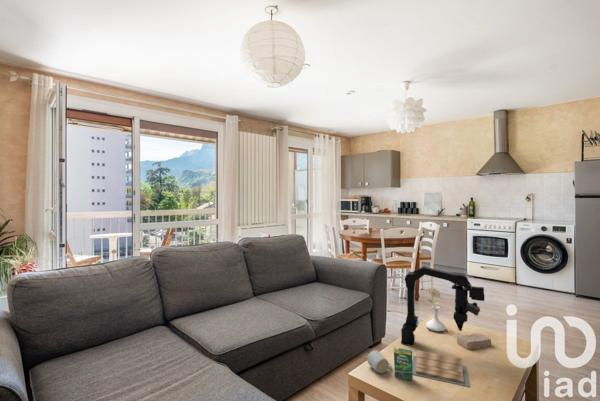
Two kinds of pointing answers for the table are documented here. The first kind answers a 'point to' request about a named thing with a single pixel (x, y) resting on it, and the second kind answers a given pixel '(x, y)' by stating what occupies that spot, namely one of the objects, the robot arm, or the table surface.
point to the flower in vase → (435, 313)
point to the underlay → (442, 379)
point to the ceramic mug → (378, 362)
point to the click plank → (439, 361)
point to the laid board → (440, 373)
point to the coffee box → (403, 363)
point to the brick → (474, 341)
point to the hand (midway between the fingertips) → (460, 327)
